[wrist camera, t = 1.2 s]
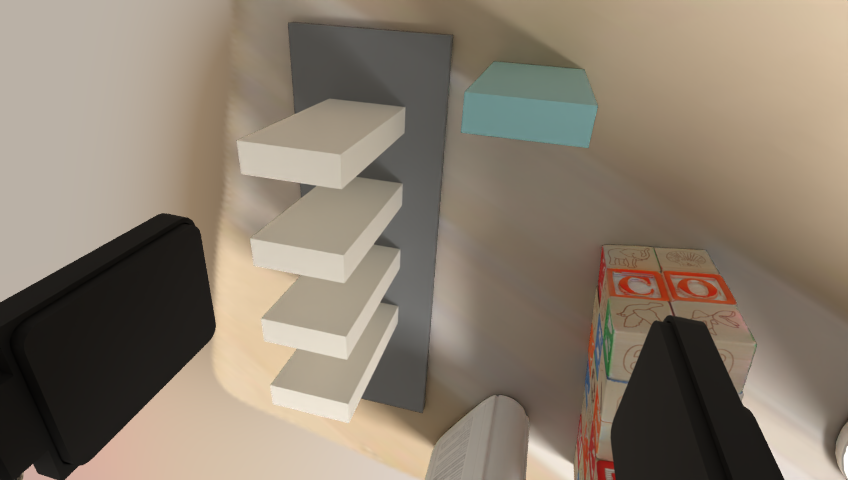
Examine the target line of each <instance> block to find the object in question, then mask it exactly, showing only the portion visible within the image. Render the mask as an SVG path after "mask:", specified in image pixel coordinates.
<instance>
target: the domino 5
mask: <svg viewBox="0 0 848 480" xmlns="http://www.w3.org/2000/svg"><path fill="white" fill-rule="evenodd" d="M597 108H598V105H597V102H596V99H595V97H594V94H593V91H592V89H591V86H590V83H589V81H588V78H587V75H586V73H585V70H584V69H574V68H563V67H552V66H541V65H530V64H519V63H507V62H496V61H494V62H493V63H492V64H491V65H490V66H489V67H488V68H487V69H486V70H485V71H484V72H483V73H482V75H481V76H480V77H479V78H478V79H477V80H476V81H475V82H474V83H473V84H472V85H471V86H470V87H469V88H468V89H467V90H466V91H465V93H464V104H463V115H462V126H461V133H468V134H476V135H484V136H493V137H501V138H509V139H518V140H526V141H534V142H542V143H551V144H559V145H567V146H575V147H584V148H589V143H590V139H591V135H592V130H593V126H594V121H595V117H596V113H597Z"/></svg>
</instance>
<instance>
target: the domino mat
mask: <svg viewBox="0 0 848 480" xmlns="http://www.w3.org/2000/svg"><path fill="white" fill-rule="evenodd" d="M288 30H289V43H290V56H291V69H292V83H293V96H294V109H295V114H296V113H299V112H301V111H303V110H305V109H307V108H310V107H312V106H314V105H316V104H319V103H321V102H323V101H325V100H327V99H338V100H347V101H356V102H365V103H374V104H382V105H391V106H400V107H405V133H404V134H403V135H402V136H401V137H399V138H398V139H397V140H396V141H395V142H394V143H393V144H392V145H391V146H389V147H388V148H387V149H386V150H385V151H384V152H383V153H382V154H380V155H379V156H378V157H377V158H376V159H375V160H374V161H373V162H372V163H370V164H369V165H368V166H367V167H366V168H365V169H364V170H363V171H362V172H360V173H359V174H358V175H357V176H356V177H361V178H368V179H375V180H382V181H389V182H396V183H402V184H403V191H402V206H401V208H400V209H399V210H398V212H397V213H396V214H395V216H394V217H393V218H392V220H391V221H390V222H389V224H388V225H387V227H386V228H385V229H384V231H383V232H382V233H381V235H380V236H379V237H378V239H377V240H376V241H375V243H374V245H379V246H385V247H391V248H397V249H400V269H399V270H398V272H397V274H396V276H395V277H394V279H393V281H392V283H391V284H390V286H389V288H388V289H387V291H386V293H385V295H384V296H383V298H382V300H381V302H380V303H385V304H391V305H396V306H398V323H397V325H396V328H395V330H394V332H393V334H392V336H391V338H390V340H389V342H388V344H387V346H386V348H385V350H384V352H383V354H382V356H381V358H380V360H379V362H378V364H377V367H376V369H375V371H374V373H373V375H372V377H371V379H370V381H369V383H368V385H367V387H366V389H365V391H364V393H363V395H362V397H361V398H362V399H366V400H370V401H374V402H378V403H382V404H387V405H391V406H395V407H399V408H403V409H407V410H412V411H416V412H420V413H423V410H424V405H425V392H426V379H427V366H428V353H429V340H430V327H431V314H432V302H433V289H434V276H435V263H436V250H437V237H438V224H439V211H440V198H441V185H442V172H443V159H444V146H445V133H446V120H447V108H448V95H449V82H450V69H451V56H452V43H453V35H445V34H433V33H421V32H408V31H396V30H383V29H371V28H359V27H346V26H334V25H322V24H309V23H297V22H289V23H288ZM315 187H316V185H309V184H303V183H300V188H301V198H302V197H303V196H304V195H306V194H307V193H308V192H310V191H311V190H312V189H313V188H315Z"/></svg>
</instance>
